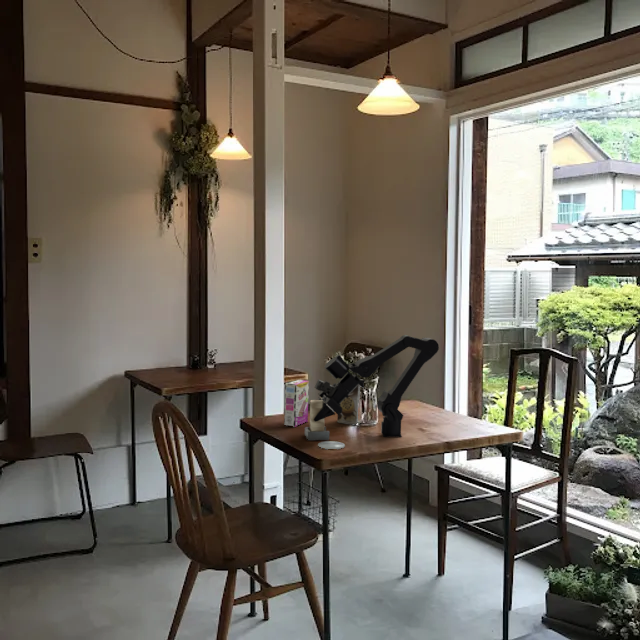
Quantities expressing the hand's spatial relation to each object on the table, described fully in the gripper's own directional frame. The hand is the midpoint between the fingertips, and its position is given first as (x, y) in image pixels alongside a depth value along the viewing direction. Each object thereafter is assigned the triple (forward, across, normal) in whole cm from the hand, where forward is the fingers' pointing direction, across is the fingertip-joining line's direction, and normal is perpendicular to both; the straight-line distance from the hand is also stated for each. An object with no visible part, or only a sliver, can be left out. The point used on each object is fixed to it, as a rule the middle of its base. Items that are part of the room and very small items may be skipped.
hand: (313, 419), depth 258 cm
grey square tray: (+4, 0, +6) cm, 7 cm away
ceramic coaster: (+2, +13, +8) cm, 15 cm away
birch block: (+4, 0, +6) cm, 7 cm away
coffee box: (-8, -22, +18) cm, 30 cm away
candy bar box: (+7, -22, +3) cm, 23 cm away
